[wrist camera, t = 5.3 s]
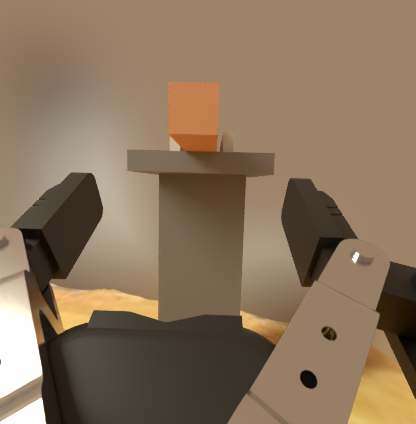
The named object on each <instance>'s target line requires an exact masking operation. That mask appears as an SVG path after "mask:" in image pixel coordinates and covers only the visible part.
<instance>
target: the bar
mask: <svg viewBox="0 0 416 424" xmlns="http://www.w3.org/2000/svg"><path fill="white" fill-rule="evenodd" d="M168 91H169V92H168V98H169V99H168V100H169V101H168V134H169V135H170V136H171V137H172V138H173V139H174V140H175V141H176V142H177V144H178V145H179V146H180V147H181V148H182V149H183V150H184V151H201V152H216V150H217V137H218V108H219V83H211V82H210V83H209V82H169V90H168Z"/></svg>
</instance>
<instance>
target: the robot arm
mask: <svg viewBox="0 0 416 424" xmlns="http://www.w3.org/2000/svg"><path fill="white" fill-rule="evenodd" d="M102 213H103V206H102V202H101V198H100V195H99V191H98V187H97V184H96V180H95V177H94V175H93V174H92V173H70V174H69V175H68V176H67V177H66V178H65V179H64V180H63V181H62V182H61V183H60V184H58V185H56V186H54V187H53V188H51V189H49V190H47V191H46V192H45V193H44V194H43V195H42V196H41V197H40V198H39V200H37V201H36V202H35V203H34V204H33V206H32V207H30V208H29V209H28V210H27V211H26V212H25V213H24V214H23V215H22V216H21V217H20V218H19V219H18V220H17V221H16V222H15V223H14V224H13V225H12V226H11V227H10V228H2V229H0V424H347V423H348V420H349V417H350V413H351V410H352V407H353V403H354V400H355V397H356V394H357V390H358V387H359V384H360V380H361V377H362V374H363V370H364V367H365V364H366V360H367V357H368V354H369V350H370V347H371V344H372V340H373V337H374V333H375V330H376V328H377V329H380V330H383V331H384V332H385V335H386V337H387V339H388V341H389V343H390V346H391V348H392V350H393V352H394V354H395V356H396V358H397V361H398V363H399V365H400V367H401V369H402V371H403V373H404V375H405V378H406V380H407V382H408V384H409V386H410V388H411V390H412V393H413V395H414V397H415V399H416V268H414V267H410V266H406V265H402V264H398V263H394V262H390V261H389V258H388V256H387V255H386V254H385V253H384V252H383V251H382V250H381V249H380V248H378V247H377V246H375V245H374V244H371V243H369V242H367V241H364V240H360V239H358V238H357V236H356V235H355V233H354V232H353V231H352V229H351V227H350V226H349V224H348V222H347V221H346V219H345V218H344V216H342V213H341V211H340V210H339V209H338V207H337V205H336V204H335V202H334V200H333V199H332V198H331V197H329V196H328V195H327V194H326V193H324V192H323V191H317V189H316V188H315V186H314V184H313V183H312V181H311V180H310V179H300V178H298V179H297V178H291V179H290V180H289V182H288V186H287V190H286V195H285V199H284V204H283V208H282V215H281V217H282V225H283V228H284V231H285V235H286V238H287V241H288V244H289V247H290V251H291V254H292V257H293V260H294V263H295V267H296V270H297V273H298V276H299V279H300V283H301V286H303V287H311V288H310V290H309V291H308V293H307V295H306V296H305V298H304V300H303V301H302V303H301V305H300V307H299V308H298V310H297V311H296V313H295V315H294V317H293V318H292V320H291V322H290V323H289V325H288V327H287V328H286V330H285V332H284V333H283V335H282V337H281V338H280V340H279V342H278V343H277V345H275V344H274V343H272V342H271V341H269V340H268V339H267V338H265V337H263V336H262V335H260V334H258V333H256V332H254V331H251V330H249V329H246V328H243V326H242V316H234V315H207V314H205V315H200V316H195V317H190V318H185V319H181V320H176V321H171V322H163V321H159V320H156V319H152V318H149V317H146V316H143V315H139V314H136V313H133V312H126V311H99V310H94V311H93V313H92V316H91V318H90V320H89V323H84V324H81V325H78V326H75V327H73V328H70V329H68V330H66V331H64V328H63V325H62V321H61V318H60V314H59V310H58V307H57V303H56V300H55V296H54V292H53V289H52V287H51V285H50V283H49V281H50V280H51V279H66V278H67V276H68V274H69V273H70V271H71V269H72V268H73V266H74V264H75V262H76V261H77V259H78V257H79V256H80V254H81V252H82V250H83V249H84V247H85V245H86V244H87V242H88V240H89V239H90V237H91V235H92V233H93V232H94V230H95V228H96V227H97V225H98V223H99V221H100V220H101V218H102Z"/></svg>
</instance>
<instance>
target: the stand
mask: <svg viewBox="0 0 416 424" xmlns="http://www.w3.org/2000/svg"><path fill="white" fill-rule="evenodd" d="M274 154H275V153H241V152H240V153H239V152H233V133H231V132H223V135H222V141H221V147H220V152H201V151H184V150H183V149H182V148H181V147H180V146H179V145H178V144H177V142H176V141H175V140H174V139H173V138H172V137H171V136H170V151H160V150H127V164H128V165H127V166H128V171H133V172H141V173H149V174H158V175H159V308H158V320H159V321H163V322H171V321H176V320H181V319H185V318H190V317H195V316H200V315H205V314H207V315H234V316H240V301H241V278H242V255H243V233H244V209H245V187H246V177H258V176H266V175H273V174H274V156H275V155H274Z"/></svg>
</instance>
